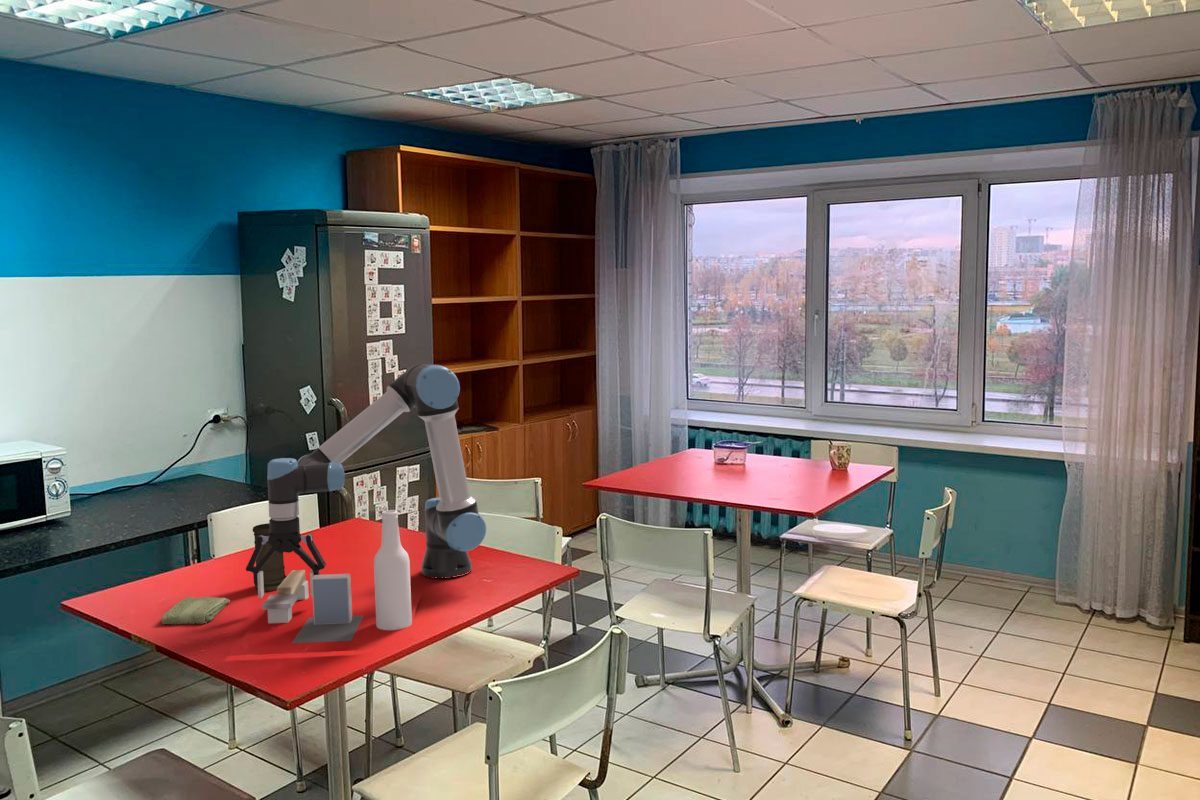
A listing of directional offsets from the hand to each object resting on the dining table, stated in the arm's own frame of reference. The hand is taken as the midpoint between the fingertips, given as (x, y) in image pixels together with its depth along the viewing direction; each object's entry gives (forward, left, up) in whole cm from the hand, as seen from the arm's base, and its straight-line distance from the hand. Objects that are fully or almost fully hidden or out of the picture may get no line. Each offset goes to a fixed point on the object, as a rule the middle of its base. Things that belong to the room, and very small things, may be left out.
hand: (287, 595), depth 247 cm
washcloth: (+25, -2, -5) cm, 25 cm away
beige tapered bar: (0, 0, 0) cm, 0 cm away
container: (+11, -24, -5) cm, 27 cm away
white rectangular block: (-14, +12, -4) cm, 19 cm away
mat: (-14, +17, -5) cm, 23 cm away
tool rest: (0, 0, -5) cm, 5 cm away
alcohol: (-30, +15, -5) cm, 34 cm away
